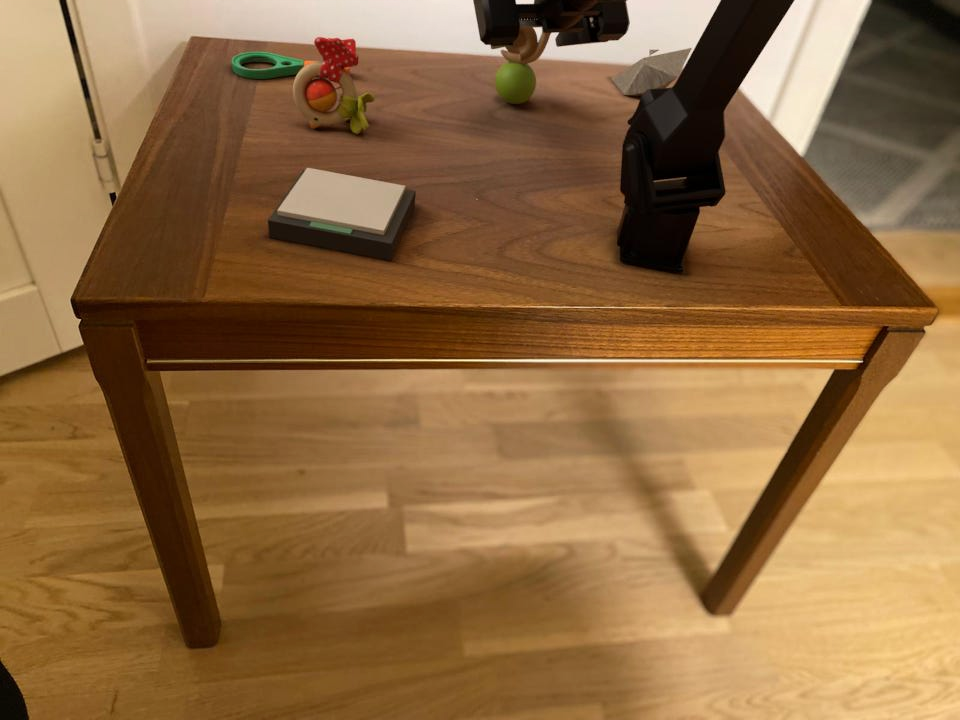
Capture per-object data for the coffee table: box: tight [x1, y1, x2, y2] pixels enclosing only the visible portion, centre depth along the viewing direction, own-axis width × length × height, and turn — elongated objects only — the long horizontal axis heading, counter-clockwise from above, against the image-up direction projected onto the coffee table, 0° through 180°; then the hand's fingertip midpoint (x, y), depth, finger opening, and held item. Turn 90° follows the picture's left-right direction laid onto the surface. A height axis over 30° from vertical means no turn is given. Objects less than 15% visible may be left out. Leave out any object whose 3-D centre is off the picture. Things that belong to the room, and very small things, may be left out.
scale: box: [267, 167, 417, 261], centre depth 74 cm, size 12×10×3 cm
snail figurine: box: [494, 27, 552, 105], centre depth 96 cm, size 5×6×12 cm
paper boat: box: [610, 47, 693, 97], centre depth 106 cm, size 12×6×9 cm
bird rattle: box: [292, 36, 375, 135], centre depth 85 cm, size 6×11×9 cm
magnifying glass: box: [231, 51, 351, 80], centre depth 98 cm, size 15×6×2 cm, turn 97°
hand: (524, 43), depth 94 cm, fingers open, 9 cm apart
